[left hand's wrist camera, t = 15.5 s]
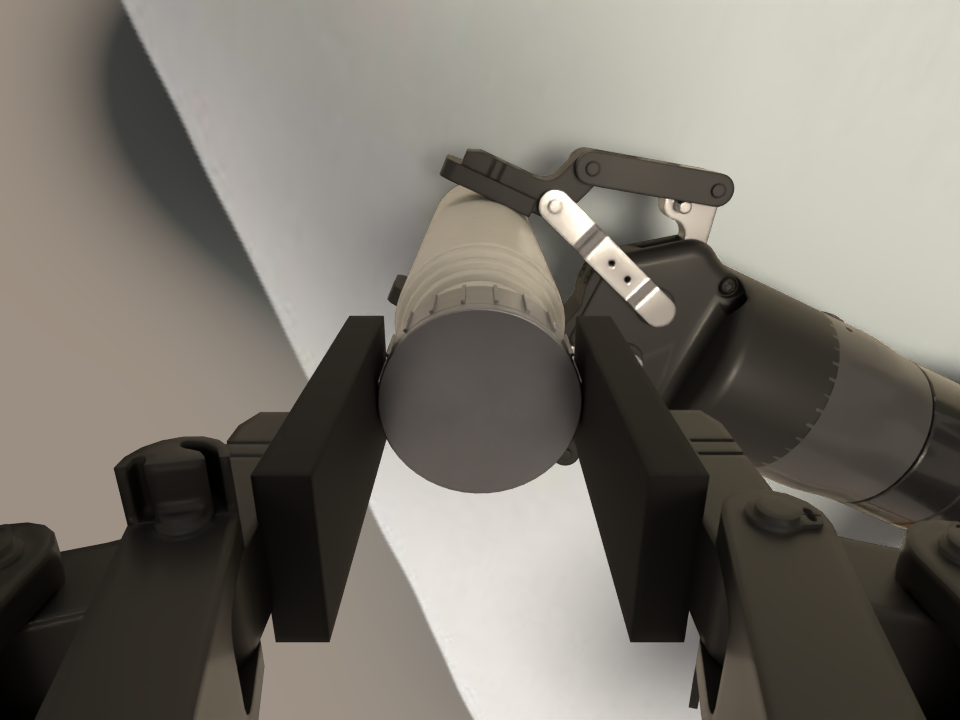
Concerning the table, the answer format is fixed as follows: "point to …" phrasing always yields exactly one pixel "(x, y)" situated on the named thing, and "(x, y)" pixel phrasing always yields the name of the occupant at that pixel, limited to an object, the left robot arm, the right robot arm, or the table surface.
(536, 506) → the table surface
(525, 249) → the bottle
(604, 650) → the table surface
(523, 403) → the cap
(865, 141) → the table surface
